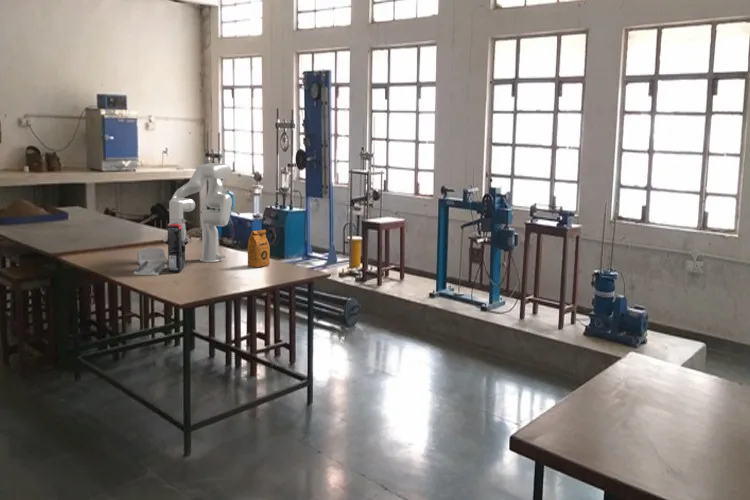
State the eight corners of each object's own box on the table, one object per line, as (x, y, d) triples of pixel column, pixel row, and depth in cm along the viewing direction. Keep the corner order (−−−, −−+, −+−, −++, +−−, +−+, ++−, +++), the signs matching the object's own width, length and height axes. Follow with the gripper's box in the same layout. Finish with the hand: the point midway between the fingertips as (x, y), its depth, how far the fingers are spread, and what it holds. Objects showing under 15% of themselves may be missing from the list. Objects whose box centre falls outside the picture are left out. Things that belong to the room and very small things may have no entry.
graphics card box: (174, 266, 399) (172, 220, 394) (186, 266, 400) (184, 220, 395) (168, 273, 382) (166, 225, 377) (180, 273, 383) (179, 225, 378)
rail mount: (167, 267, 398) (166, 261, 397) (158, 275, 376) (158, 269, 376) (144, 266, 397) (144, 260, 396) (134, 274, 375) (133, 268, 375)
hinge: (139, 265, 401) (137, 248, 402) (137, 266, 404) (135, 249, 405) (167, 262, 410) (165, 246, 411) (165, 263, 414) (163, 247, 415)
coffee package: (272, 266, 411) (272, 230, 407) (255, 269, 402) (256, 232, 398) (261, 263, 418) (262, 228, 414) (245, 266, 408) (245, 230, 405)
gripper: (193, 220, 390) (193, 251, 393) (162, 220, 388) (163, 251, 392) (190, 222, 382) (191, 254, 386) (159, 222, 381) (160, 253, 384)
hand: (177, 252), depth 389 cm, fingers closed on graphics card box, 6 cm apart
